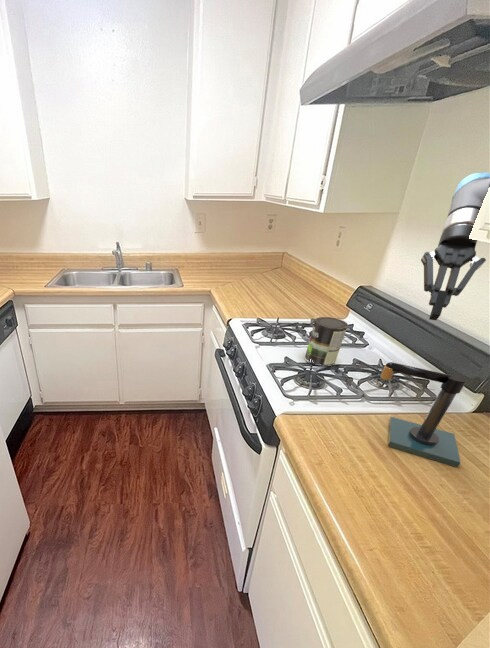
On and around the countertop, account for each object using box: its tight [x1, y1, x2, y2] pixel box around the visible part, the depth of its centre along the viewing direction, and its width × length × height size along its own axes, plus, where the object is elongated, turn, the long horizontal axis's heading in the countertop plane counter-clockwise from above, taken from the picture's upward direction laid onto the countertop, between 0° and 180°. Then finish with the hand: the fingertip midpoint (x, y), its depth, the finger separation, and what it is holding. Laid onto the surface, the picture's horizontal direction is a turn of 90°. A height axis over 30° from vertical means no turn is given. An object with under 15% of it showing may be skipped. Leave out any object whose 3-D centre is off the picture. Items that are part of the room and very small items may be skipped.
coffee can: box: [304, 316, 349, 366], centre depth 118 cm, size 10×10×14 cm
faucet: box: [387, 388, 462, 468], centre depth 81 cm, size 14×12×15 cm
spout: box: [379, 361, 468, 395], centre depth 78 cm, size 15×4×4 cm, turn 60°
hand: (434, 317), depth 84 cm, fingers closed
